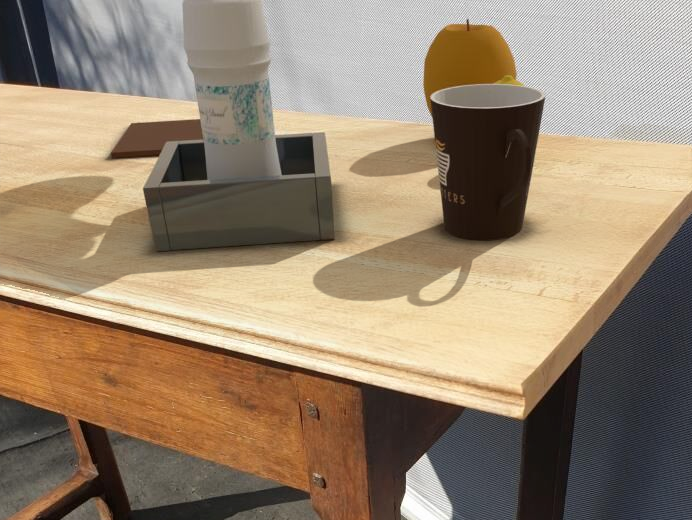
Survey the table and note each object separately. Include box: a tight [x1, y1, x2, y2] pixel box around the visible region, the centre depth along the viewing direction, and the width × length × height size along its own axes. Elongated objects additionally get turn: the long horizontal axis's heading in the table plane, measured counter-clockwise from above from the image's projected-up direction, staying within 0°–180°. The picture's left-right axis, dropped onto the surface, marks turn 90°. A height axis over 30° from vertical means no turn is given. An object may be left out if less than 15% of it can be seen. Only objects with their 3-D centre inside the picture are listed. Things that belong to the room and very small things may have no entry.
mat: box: [110, 118, 203, 159], centre depth 96 cm, size 14×14×1 cm
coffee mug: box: [430, 84, 546, 241], centre depth 64 cm, size 12×9×10 cm
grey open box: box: [142, 131, 336, 252], centre depth 71 cm, size 14×14×5 cm
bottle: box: [181, 0, 281, 180], centre depth 67 cm, size 7×7×20 cm
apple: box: [422, 18, 518, 117], centre depth 88 cm, size 10×10×12 cm
